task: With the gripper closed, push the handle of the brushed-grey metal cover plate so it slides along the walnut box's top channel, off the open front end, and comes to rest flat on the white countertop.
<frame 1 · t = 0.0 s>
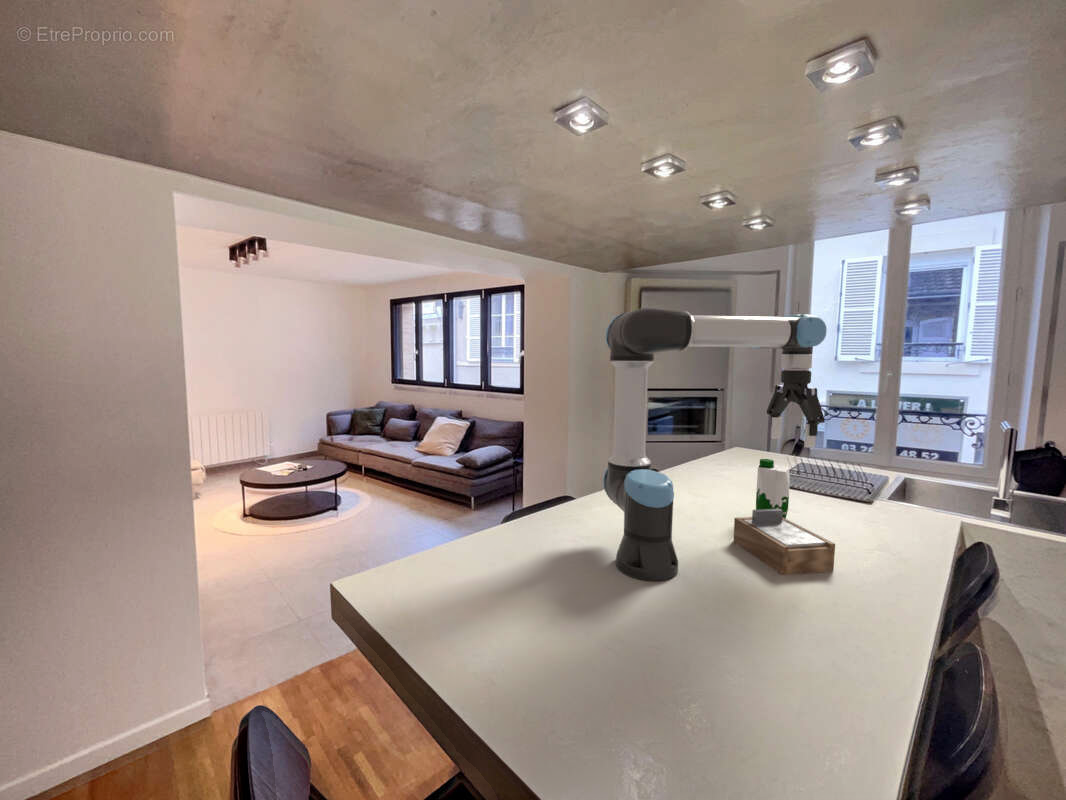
hand: (791, 442, 129), 28 cm above the kitchen island, fingers open, 13 cm apart
milk carton: (770, 522, 143), on the kitchen island
cover plate: (781, 533, 118), point 6 cm above the kitchen island, touching box
box: (779, 555, 119), on the kitchen island
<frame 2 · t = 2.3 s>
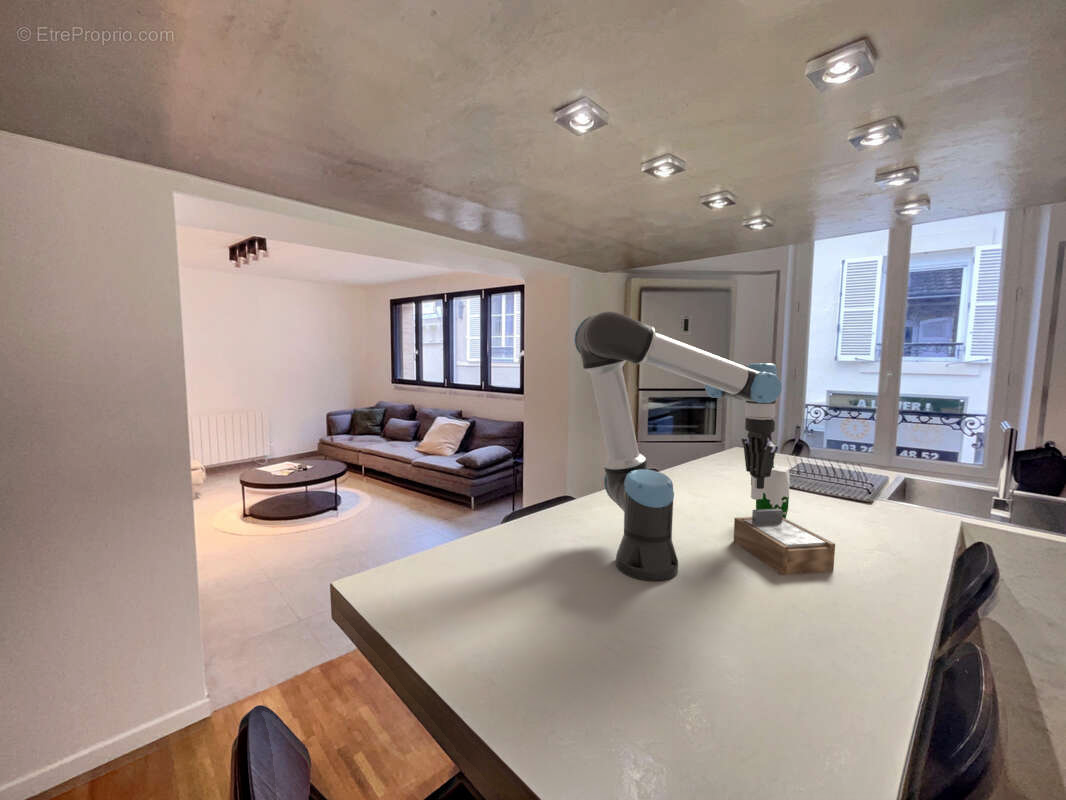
hand: (756, 498, 129), 12 cm above the kitchen island, fingers closed
nothing on the kitchen island moved.
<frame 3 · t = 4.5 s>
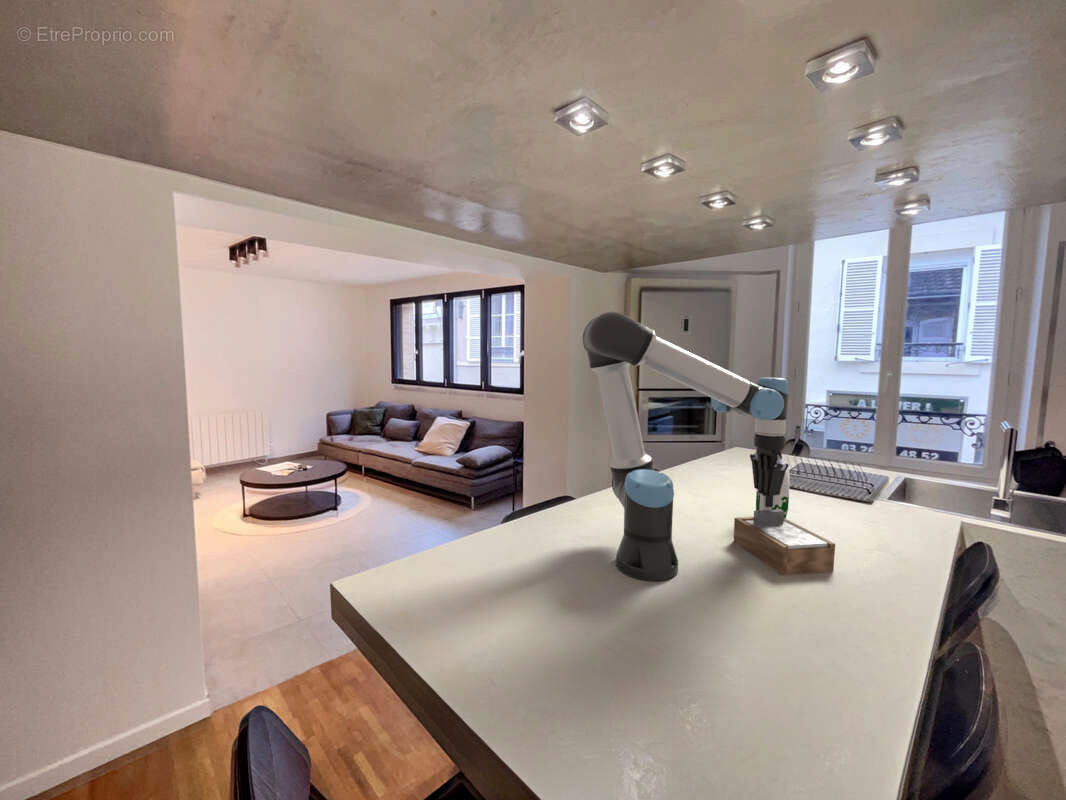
hand: (765, 516, 124), 8 cm above the kitchen island, fingers closed
cover plate: (783, 534, 117), point 6 cm above the kitchen island, touching gripper
everything else where it was.
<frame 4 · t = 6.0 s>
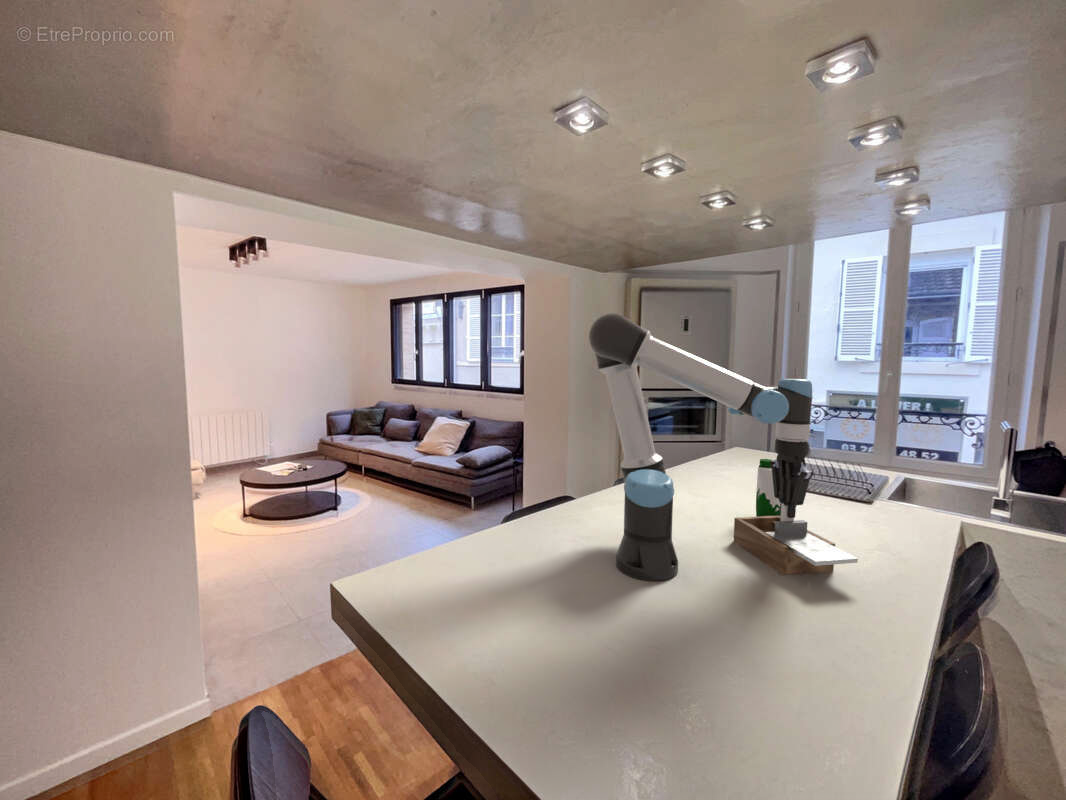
hand: (786, 528, 116), 8 cm above the kitchen island, fingers closed
cover plate: (807, 548, 109), point 6 cm above the kitchen island, touching gripper
everything else where it was.
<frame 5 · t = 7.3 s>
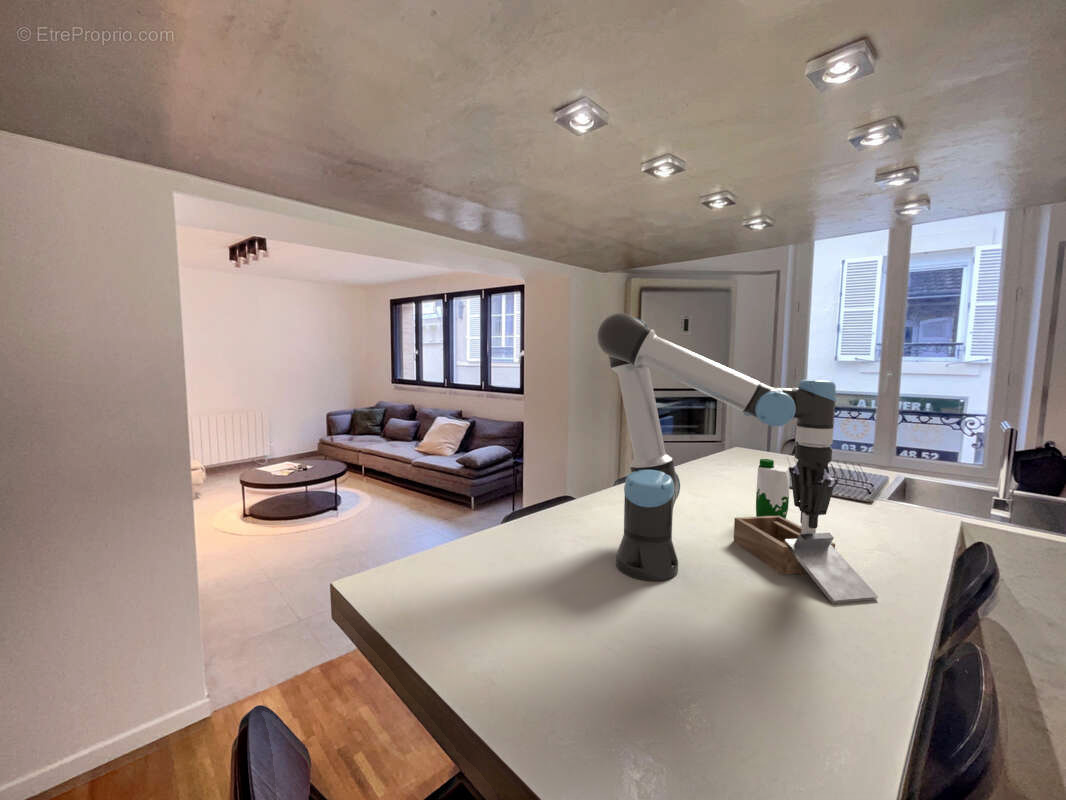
hand: (807, 538, 109), 8 cm above the kitchen island, fingers closed
cover plate: (827, 569, 103), point 4 cm above the kitchen island, tilted 25°, touching gripper
everything else where it was.
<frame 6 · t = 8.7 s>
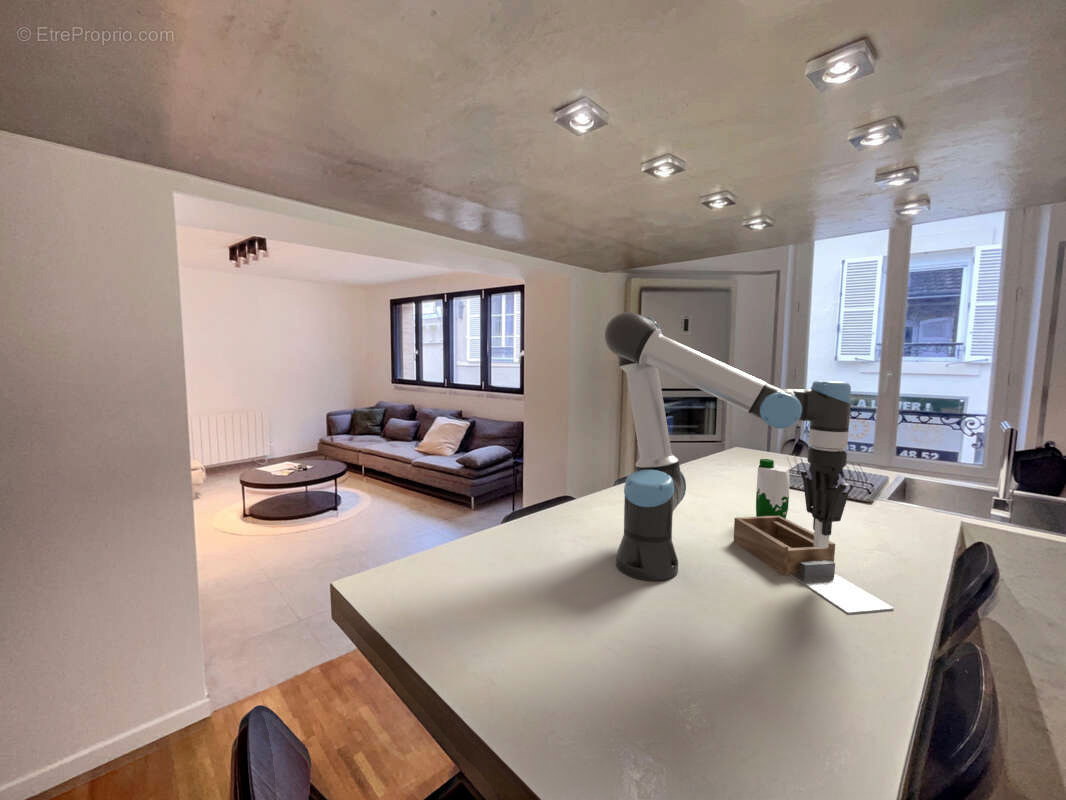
hand: (820, 546, 105), 8 cm above the kitchen island, fingers closed
cover plate: (837, 593, 101), on the kitchen island
everything else where it was.
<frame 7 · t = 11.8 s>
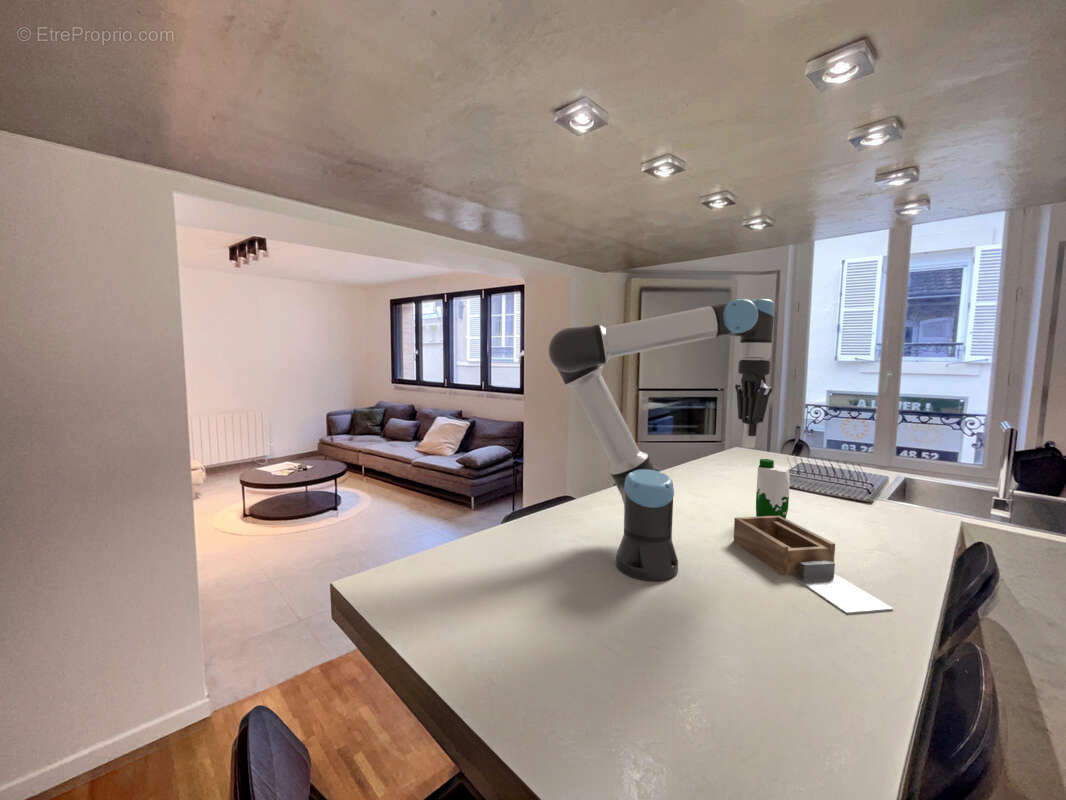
hand: (748, 447, 120), 29 cm above the kitchen island, fingers closed
nothing on the kitchen island moved.
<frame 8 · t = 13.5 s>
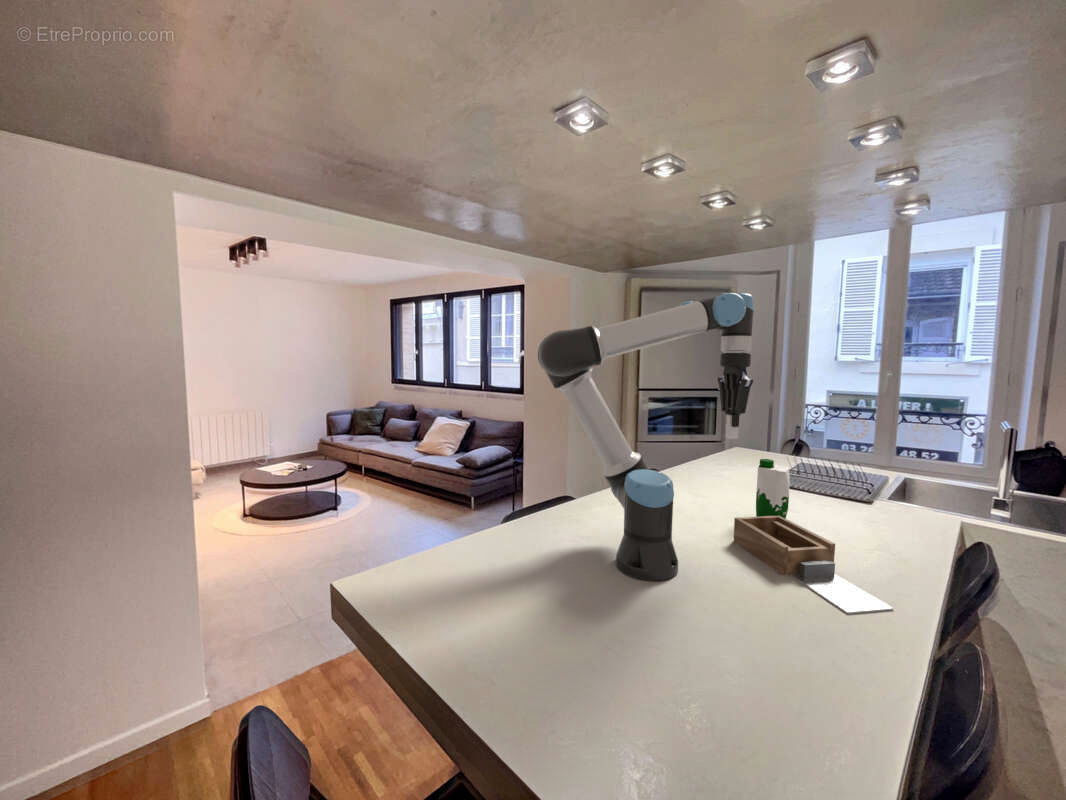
hand: (731, 438, 123), 30 cm above the kitchen island, fingers closed
nothing on the kitchen island moved.
at the end: cover plate inside the target area on the kitchen island beside the box (9.2 cm from its centre), on the kitchen island; cover plate tilted 0° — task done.
